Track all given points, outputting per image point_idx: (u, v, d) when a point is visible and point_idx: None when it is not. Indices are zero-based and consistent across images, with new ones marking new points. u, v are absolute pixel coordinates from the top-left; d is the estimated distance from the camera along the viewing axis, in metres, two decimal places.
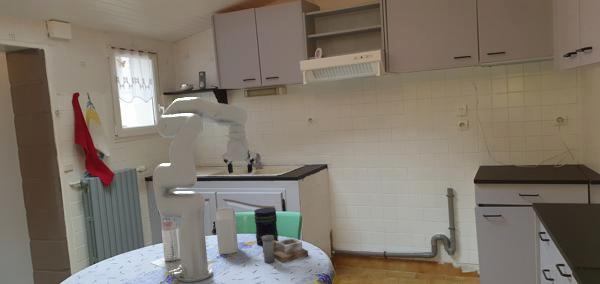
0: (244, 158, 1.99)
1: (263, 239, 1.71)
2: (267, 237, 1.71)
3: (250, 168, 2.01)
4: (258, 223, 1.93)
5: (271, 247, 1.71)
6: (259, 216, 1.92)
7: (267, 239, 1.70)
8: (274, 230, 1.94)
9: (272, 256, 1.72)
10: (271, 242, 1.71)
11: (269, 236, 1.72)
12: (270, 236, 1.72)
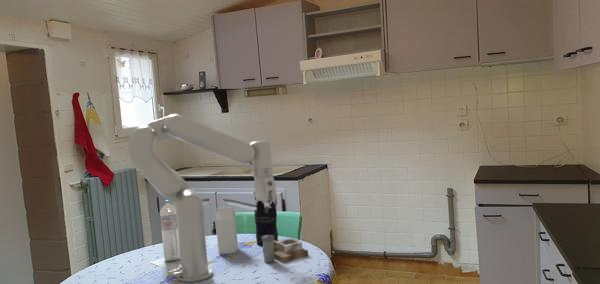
0: None
1: (263, 239, 1.71)
2: (267, 237, 1.71)
3: None
4: (258, 223, 1.93)
5: (271, 247, 1.71)
6: (259, 216, 1.92)
7: (267, 239, 1.70)
8: (274, 230, 1.94)
9: (272, 256, 1.72)
10: (271, 242, 1.71)
11: (269, 236, 1.72)
12: (270, 236, 1.72)
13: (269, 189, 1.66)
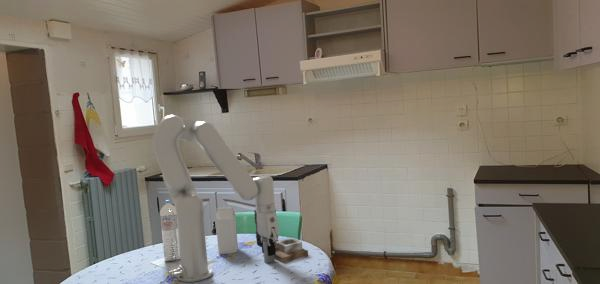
0: None
1: (263, 239, 1.71)
2: None
3: None
4: None
5: None
6: None
7: None
8: None
9: (272, 256, 1.72)
10: None
11: None
12: (270, 236, 1.72)
13: (271, 225, 1.67)
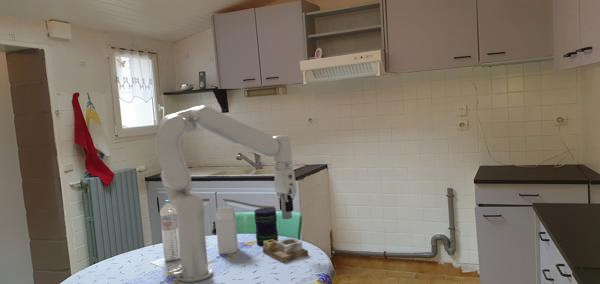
0: None
1: (281, 196, 1.77)
2: None
3: None
4: (258, 223, 1.93)
5: None
6: (259, 216, 1.92)
7: None
8: (274, 230, 1.94)
9: (290, 212, 1.78)
10: None
11: None
12: (288, 193, 1.78)
13: (289, 182, 1.74)
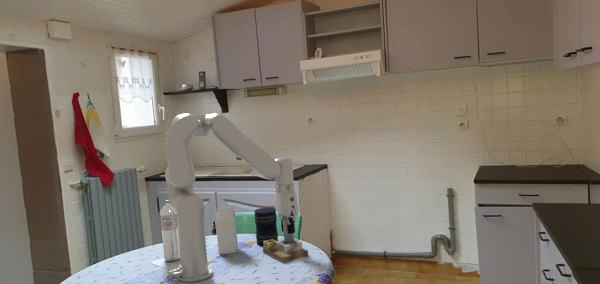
0: None
1: (283, 218, 1.78)
2: None
3: None
4: (258, 223, 1.93)
5: None
6: (259, 216, 1.92)
7: None
8: (274, 230, 1.94)
9: (292, 234, 1.78)
10: None
11: None
12: (290, 215, 1.79)
13: (291, 204, 1.74)
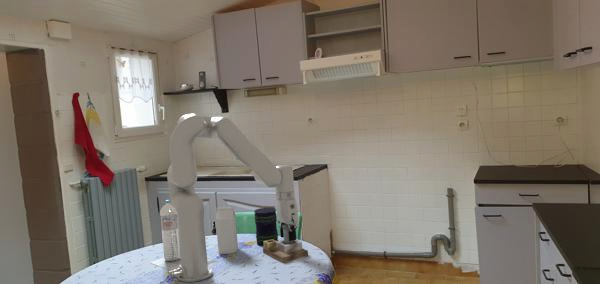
0: None
1: (284, 227, 1.78)
2: None
3: None
4: (258, 223, 1.93)
5: None
6: (259, 216, 1.92)
7: (288, 227, 1.77)
8: (274, 230, 1.94)
9: None
10: None
11: None
12: None
13: (291, 212, 1.74)
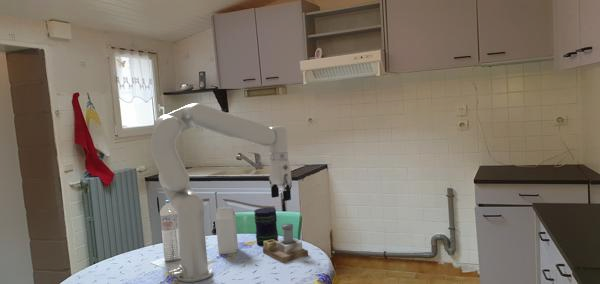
0: None
1: (283, 227, 1.78)
2: (287, 226, 1.78)
3: None
4: (258, 223, 1.93)
5: (291, 235, 1.78)
6: (259, 216, 1.92)
7: (287, 227, 1.77)
8: (274, 230, 1.94)
9: None
10: (291, 230, 1.78)
11: (289, 225, 1.79)
12: (290, 225, 1.79)
13: (284, 172, 1.73)
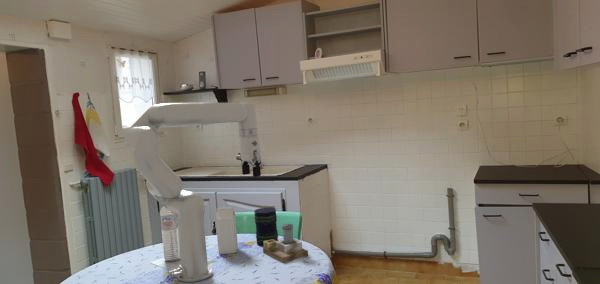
0: None
1: (283, 227, 1.78)
2: (287, 226, 1.78)
3: None
4: (258, 223, 1.93)
5: (291, 235, 1.78)
6: (259, 216, 1.92)
7: (287, 227, 1.77)
8: (274, 230, 1.94)
9: None
10: (291, 230, 1.78)
11: (289, 225, 1.79)
12: (290, 225, 1.79)
13: (254, 148, 1.74)
